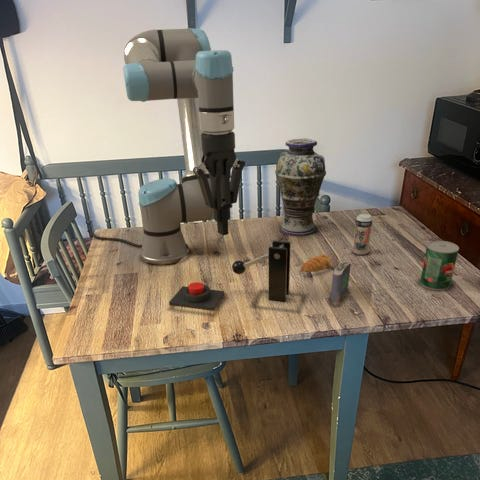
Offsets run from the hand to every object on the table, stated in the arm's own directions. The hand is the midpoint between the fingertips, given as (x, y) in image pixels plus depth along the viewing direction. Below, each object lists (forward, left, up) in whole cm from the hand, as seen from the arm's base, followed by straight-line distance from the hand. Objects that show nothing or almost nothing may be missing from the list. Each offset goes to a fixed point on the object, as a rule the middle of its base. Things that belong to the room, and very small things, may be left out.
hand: (223, 233), depth 114 cm
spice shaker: (+21, +45, -19) cm, 53 cm away
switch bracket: (+13, +5, -18) cm, 23 cm away
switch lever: (+8, +4, -9) cm, 13 cm away
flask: (+26, +14, -19) cm, 35 cm away
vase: (-5, +54, -19) cm, 58 cm away
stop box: (-5, -6, -18) cm, 20 cm away
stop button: (-5, -6, -15) cm, 17 cm away
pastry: (+14, +27, -19) cm, 36 cm away
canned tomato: (+46, +34, -19) cm, 60 cm away
